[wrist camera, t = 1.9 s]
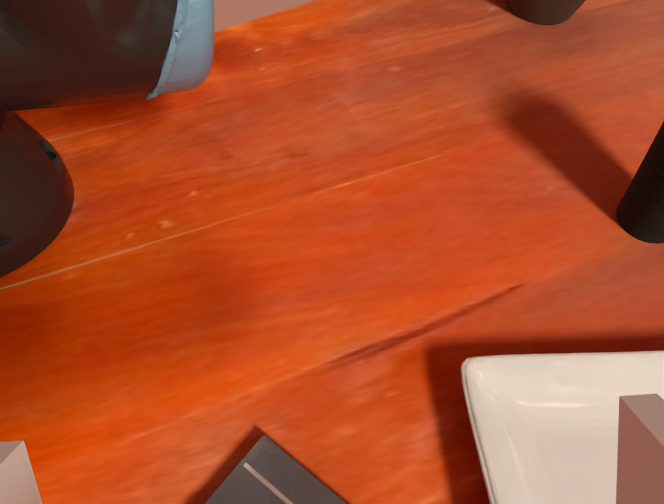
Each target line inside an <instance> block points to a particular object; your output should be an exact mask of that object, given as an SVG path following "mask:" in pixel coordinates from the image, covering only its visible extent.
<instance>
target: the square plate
mask: <svg viewBox="0 0 664 504" xmlns="http://www.w3.org/2000/svg"><path fill="white" fill-rule="evenodd" d="M461 379H462V387H463V391H464V396H465V401H466V406H467V411H468V416H469V420H470V424H471V428H472V432H473V436H474V440H475V444H476V449H477V453H478V457H479V461H480V465H481V469H482V473H483V477H484V481H485V485H486V489H487V493H488V498H489V502H490V504H616V486H617V454H618V422H619V396H628V395H641V394H655V393H657V394H658V395H659V396H660V397H661V398H662V399H663V400H664V351H635V352H599V353H551V354H513V355H490V356H477V357H470V358H467V359H466V360H464V361H463V363H462V365H461Z"/></svg>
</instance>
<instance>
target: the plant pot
mask: <svg viewBox="0 0 664 504" xmlns="http://www.w3.org/2000/svg"><path fill="white" fill-rule="evenodd" d="M584 1H585V0H508V4H509V7H510V9H511V10H512V11H513V12H514V13H515V14H516V15H517V16H519V17H520V18H522V19H524V20H527V21H529V22H532V23H537V24H543V25H553V24H559V23H562V22H564V21H566V20H568V19H569V18H570V17H571V16H572V15H573V13H574V12H575V11H576V10H577V9H578V8H579V7H580V6H581V5H582V4H583V3H584Z"/></svg>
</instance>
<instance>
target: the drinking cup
mask: <svg viewBox="0 0 664 504" xmlns="http://www.w3.org/2000/svg"><path fill="white" fill-rule="evenodd" d="M617 218H618V221H619V223H620V225H621V226H622V227H623V228H624V229H625V230H626V231H627V232H628V233H629V234H630V235H632V236H633V237H635V238H637V239H639V240H642V241H645V242H649V243H664V122H663V124H662V126H661V128H660V129H659V131H658V133H657V135H656V137H655V139H654V141H653V143H652V144H651V146H650V148H649V150H648V152H647V154H646V156H645V158H644V159H643V161H642V163H641V165H640V167H639V169H638V171H637V173H636V174H635V176H634V178H633V180H632V182H631V184H630V186H629V188H628V189H627V191H626V193H625V195H624V197H623V199H622V201H621V203H620V204H619V206H618V208H617Z"/></svg>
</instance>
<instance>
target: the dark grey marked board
mask: <svg viewBox="0 0 664 504" xmlns="http://www.w3.org/2000/svg"><path fill="white" fill-rule="evenodd" d="M204 504H347V503H345V502H344V501H343V500H342V499H341V498H339V497H338V496H337V495H336V494H335V493H333V492H332V491H331V490H330V489H329V488H327V487H326V486H325V485H324V484H323V483H321V482H320V481H319V480H318V479H317V478H315V477H314V476H313V475H312V474H311V473H309V472H308V471H307V470H306V469H305V468H303V467H302V466H301V465H300V464H299V463H297V462H296V461H295V460H294V459H293V458H291V457H290V456H289V455H288V454H287V453H286V452H284V451H283V450H282V449H281V448H280V447H278V446H277V445H276V444H275V443H274V442H272V441H271V440H270V439H269V438H268V437H266V436H265V435H263V436H262V437H261V438H260V439H259V441H258V442H257V443H256V444H255V445H254V446H253V448H252V449H251V450H250V451H249V452H248V453H247V454H246V456H245V457H244V458H243V459H242V460H241V461H240V463H239V464H238V465H237V466H236V467H235V468H234V470H233V471H232V472H231V473H230V474H229V475H228V477H227V478H226V479H225V480H224V481H223V482H222V484H221V485H220V486H219V487H218V488H217V489H216V491H215V492H214V493H213V494H212V495H211V496H210V498H209V499H208V500H207V501H206V502H205V503H204Z"/></svg>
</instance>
